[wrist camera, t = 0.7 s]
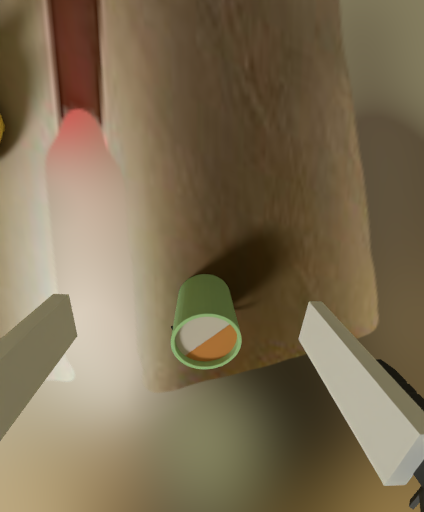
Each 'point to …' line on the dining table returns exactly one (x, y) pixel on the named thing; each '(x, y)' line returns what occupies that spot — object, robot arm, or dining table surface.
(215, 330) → the mug
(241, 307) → the dining table surface
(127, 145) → the dining table surface
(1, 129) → the teapot
